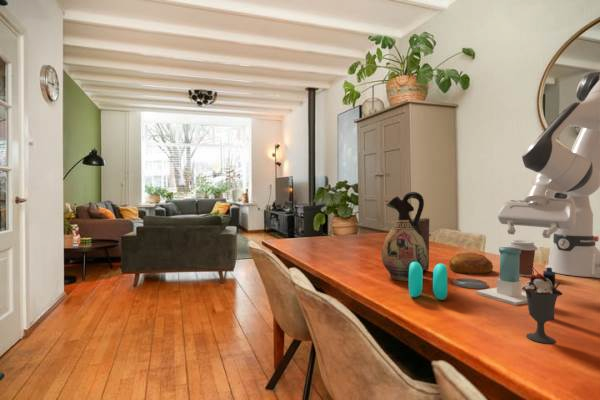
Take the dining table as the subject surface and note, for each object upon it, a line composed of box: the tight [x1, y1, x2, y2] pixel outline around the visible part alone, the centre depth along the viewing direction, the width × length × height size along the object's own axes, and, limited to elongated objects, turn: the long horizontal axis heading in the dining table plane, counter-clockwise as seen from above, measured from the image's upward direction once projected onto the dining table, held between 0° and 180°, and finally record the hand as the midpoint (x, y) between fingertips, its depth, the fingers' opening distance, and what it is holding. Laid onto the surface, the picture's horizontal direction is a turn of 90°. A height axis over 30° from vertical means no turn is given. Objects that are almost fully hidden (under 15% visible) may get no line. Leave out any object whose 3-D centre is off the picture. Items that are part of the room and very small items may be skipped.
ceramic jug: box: [381, 191, 428, 282], centre depth 123 cm, size 17×15×30 cm
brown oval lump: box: [448, 251, 494, 274], centre depth 137 cm, size 14×16×8 cm
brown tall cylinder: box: [411, 217, 430, 272], centre depth 135 cm, size 8×7×20 cm
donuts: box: [408, 262, 448, 301], centre depth 101 cm, size 10×10×10 cm
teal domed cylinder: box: [498, 246, 521, 282], centre depth 102 cm, size 5×5×9 cm
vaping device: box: [542, 268, 556, 320], centre depth 86 cm, size 3×5×12 cm, turn 27°
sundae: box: [522, 265, 563, 345], centre depth 73 cm, size 7×7×15 cm
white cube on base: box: [475, 278, 528, 306], centre depth 102 cm, size 12×12×5 cm
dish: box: [452, 277, 488, 290], centre depth 116 cm, size 10×10×1 cm
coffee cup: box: [507, 239, 538, 278], centre depth 129 cm, size 9×9×12 cm
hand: (527, 234), depth 107 cm, fingers open, 8 cm apart
